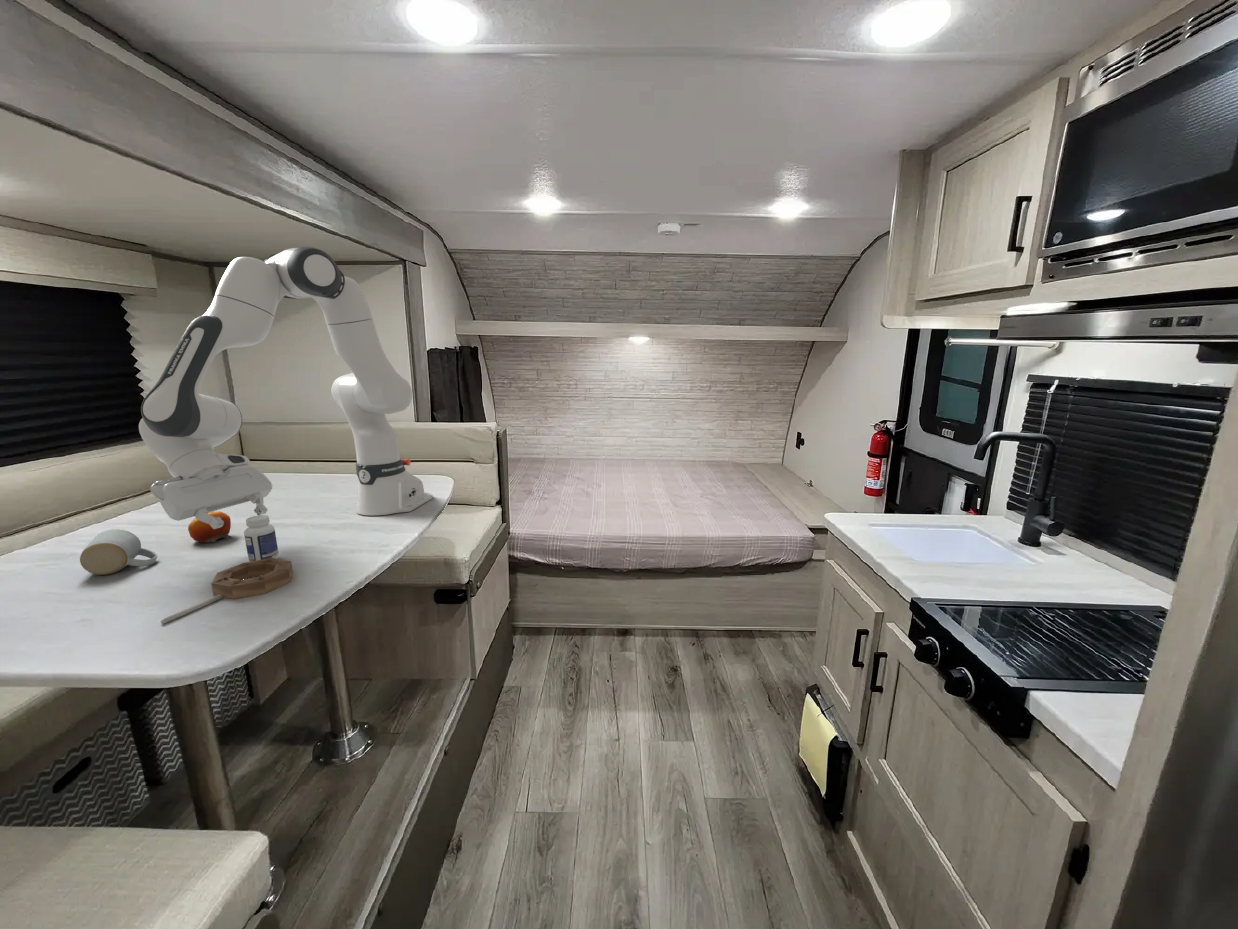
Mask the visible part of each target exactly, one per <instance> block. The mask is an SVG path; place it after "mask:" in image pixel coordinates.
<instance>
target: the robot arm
mask: <svg viewBox="0 0 1238 929" xmlns="http://www.w3.org/2000/svg"><path fill="white" fill-rule="evenodd" d="M283 298H285V299H292V300H293V299H294V300H296V299H313V300H314V301H315V302H316V303H317V304H318V306H319V308H320V309H321V311H322V312H323V313H322V314H323V317H324V321H325V324H326V327H327V331H328V333H329V337H330V340H331V343H332V345H333V349H334V353H335V355H336V356H337V357H338V358H339V360H342V361H343V362H344V363H345V364H346V366H347V367H348V368H349V369H350V371H351V372H350V373H346V374H344V375H341V376H339V377H337V378H336V379H335V380H334V381H333V382H332V385H331V391H330V393H331V397H332V399H333V401H334V402H335V403H336V404H337V406H338V407H339V408H340V409H341V410H342V412H343V414H344V416H345V418H346V421H347V423H348V424H349V426H350V430H351V432H352V437H353V441H354V442H353V443H354V448H355V449H354V450H355V454H356V455H355V456H356V462H355V470H356V472H355V473H356V476H357V479H358V480H357V502H356V503H355V507H356V511H355V512H356V513H357V514H359V515H362V516H385V515H391V514H393V515H394V514H399V513H408V512H412V511H414V510H416V508H419V507H420V506H422V505H423V504H426V503H427V502H429V501H430V500H432V499H433V498H434V496H433V494H432V493H429V492H425V488H424V484H423V482H422V480H421V479H420V478H419V477H416V476H415V475H413V474H412V473H410V472H409V471H407V470H406V466H411V463H412V461H411V459H410V458H403V459H401V456H400V448H399V438H398V434H397V433H398V432H397V431H396V429H394V428H393V427H392V425H390V423H389V421H388V419H387V417H386V415H389V414H395V413H399V412H403V411H404V410H407V409H408V407H410V405H411V403H412V400H413V390H412V386H411V385H410V383H409V381H407V380H406V379H405V378H403V376H401V375H400V374H399V373H398V371H397V370H396V369H395V368H394V367H393V365H392V363H391V362H390V360H389V359H388V356H387V355H386V353H385V352H384V350H383V347H382V344H381V342H380V339H379V335H378V333H377V329H376V326H375V322H374V318H373V315H372V312H371V309H370V306H369V304H368V301H367V299H366V297H365V294H364V292H363V289H362V288H361V285H359V283H358V282H357V281H356V280H355V279H353V278H352V277H348V276H345V275H344V273H343V272H342V271H341V270H340V268H339V266H338V264H337V263H336V261H335V260H334V259H333V258H332V257H331V255H329V253H327V252H326V251H323V250H321V249H320V248H316V247H311V246H301V247H292V248H286V249H284V250H283V251H281V252H277V253H274V254H271V255H270V256H268V257H267V258H265V259H264V260H261V259H259V258H255V257H252V256H239V257H236V258H234V259H233V260H232V261H230V262H229V265H228V266H227V268H226V270H225V271H224V273H223V275H222V277H221V279H220V281H219V283H218V286H217V288H216V290H215V293H214V297H213V299H212V301H211V303H210V306H209V307H208V308H207V310H206V311H205V312H204V313H203V314H202V315H199V316H198V317H196V318H194V319H193V320H192V321H191V322H190V324H188V326H187V328H186V329H185V330H184V333H183V334H182V336H181V337H180V339H179V342H178V343H177V345H176V347H175V349H174V351H173V353H172V355H171V356H170V359H169V361H168V363H167V364H166V366H165V368H164V370H163V372H162V374H161V375H160V377H159V379H158V380H157V381H156V383H155V385H154V386H153V387H152V388H151V389H150V390H149V392H148V393H147V394H146V395H145V397H144V398H143V401H142V402H141V406H140V413H141V417H142V418H141V419H140V421H139V423H138V432H139V434H140V436H141V439H142V440H143V442H144V444H145V445H146V447H147V448H148V450H150V452H151V453H152V454H153V455H154V457H155V458H156V459H157V460H158V461H160V462H161V463H163V464H164V465H165V466H166V468H167V471H168V472H169V474H170V475H171V476H172V477H171V478H168V479H161V480H156V481H155V482H154V483H153V484H152V485H150V492H151V494H152V495H153V496H154V497H155V498H156V499H158V501H159V503H160V505H161V507H162V509H163V510H164V512H165V513H166V514H167V516H168V517H169V518H170V519H172V520H173V521H178V522H179V521H183V520H186V519H190V518H196V519H197V520H199V521H202V522H205V523H207V524H209V525H210V526H211V527H212V528H213V529H217V528H220V527H222V525H224V521H223V520H221V518H220V517H216V518H215V517H213V516H211V515H209V514H207V513H209V512H213V511H215V512H217V511H219V510H222V509H228V508H230V507H235V506H237V505H241V504H245V503H248V502H251V503H252V504H255V506H256V507H255V508H254V509H253V511H254V513H255V514H256V516H259V515H266V513H267V512H268V508H267V507H266V506H265V504H264V503H265V502H264V498H266V497H268V496H269V494H270V493H271V491H272V489H273V483H272V481H271V480H270V479H269V478H268V477H267V476H266V475H265V474H264V472H262V470H260V469H259V468H258V467H256V466H255V465H252V464H250V461H251V460H250V459H249V457H248V456H246V455H241V454H240V455H238V454H224V453H219V452H216V451H215V448H218V447H219V446H221V445H223V444H224V443H226V442H228V441H229V440H231V439H232V438H234V437H235V436H236V435H237V434H238V433H239V432H240V430H241V428H242V424H243V415H242V412H241V410H240V408H239V407H238V406H237V405H236V404H235V403H233V402H232V401H229V400H227V399H224V398H220V397H217V396H212V395H205V394H202V393H199V390H200V386H201V384H202V382H203V380H204V378H205V375H206V374H207V372H208V370H209V368H210V366H211V364H212V363H213V362H212V361H213V360H214V358H215V357H216V356H217V355H218V354H219V353H221V352H222V351H225V350H227V349H228V350H229V349H234V348H235V349H236V348H247V347H248V348H249V347H253V346H255V345H258V344H261V343H262V342H263V341H265V340H266V338H267V337H268V335H269V333H270V331H271V329H272V326H273V323H274V319H275V316H276V312H277V308H278V305H279V303H280V302H281V301H282V299H283Z"/></svg>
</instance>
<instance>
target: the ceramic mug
mask: <svg viewBox="0 0 1238 929" xmlns="http://www.w3.org/2000/svg"><path fill="white" fill-rule="evenodd" d="M137 556H142V557H146V558H149V559H138V558H137ZM136 558H137V559H136ZM157 558H158V554H157V553H156V552H155V551H152V550H150V549H147V548H142V542H141V540H140V538H139V537H138V536H137V535H136V534H134V533H132V532H131V531H129V530H125V529H115V528H113V529H108V530H107V529H106V530H104V531H101V532H100V533H99V534H97V535H96V536H95V537H94V538H93V539H92V540H90V542H89V543H88V544H87V545H86V546H85V548H84V549H83V550H82V551H81V554H80V557H79V562H80V565H81V566H82V568H83V569H84V570H85V571H87V572H88V573H90V574H93V575H98V576H104V575H111V574H115V573H117V572H120V571H122V569H124V568H125V567H126V566H132V567H148V566H152V565H154V564H155V563H156V561H157Z"/></svg>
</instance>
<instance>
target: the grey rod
mask: <svg viewBox="0 0 1238 929" xmlns="http://www.w3.org/2000/svg"><path fill="white" fill-rule="evenodd" d="M222 598H223V597H222V596H221V595H217V596H213V597H210V598H208V599H206V600H204V601H202V602H199V603H197V604H195V605H192V606H190V607H188V608H185V609H184V610H181V611H178V612H175V613H174V614H172V615H170V616H167V617H165V618H162V619H161V620H160V624H162V625H164V624H168V623H169V622H172V621H174V620H176V619H178V618H180V617H182V616H185V615H187V614H189V613H192V612H194V611H197V610H199V609H201V608H203V607H205V606H208V605H210V604H212V603H214V601H215V602H217V601H219V600H221V599H222ZM216 600H217V601H216Z"/></svg>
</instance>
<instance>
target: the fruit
mask: <svg viewBox="0 0 1238 929" xmlns="http://www.w3.org/2000/svg"><path fill="white" fill-rule="evenodd" d="M207 514H209V515H211V516H213V517H215V518H216V517H220V518H221V520H223V521H224V525H222V527H220V528H217V529H213V528H212V527H211V526H210V525H209V524H207V523H205V522H202V521H199V520H197V519H196V517H194V519H192V521H191V522H190V523H189V524H188V525H187V526H188V527H187V531H188V533H189V537H190V538H192V539H193V541H195V542H197V543H202V544H204V543H205V544H206V543H214V544H215V542H216V540H218V539H222V538H226V537H227V538H228V537H229V538H231V537H232V536H230V532H231V528H232V526H231V523H232V521H231V516H230V515H228V514H227V513H225V512H222V511H219V510H218V511H212V512H209V513H207Z"/></svg>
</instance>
